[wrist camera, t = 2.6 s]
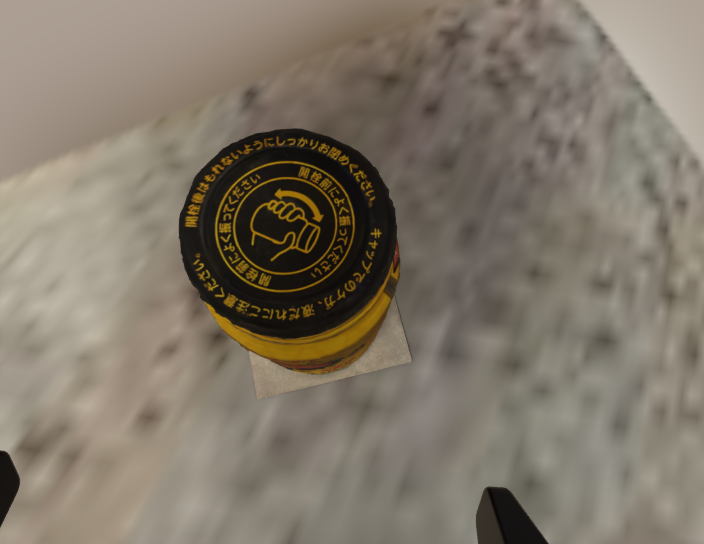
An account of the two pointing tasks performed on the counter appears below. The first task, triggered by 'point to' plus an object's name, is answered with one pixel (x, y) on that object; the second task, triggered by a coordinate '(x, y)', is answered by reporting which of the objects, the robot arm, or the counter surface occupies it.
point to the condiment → (297, 258)
